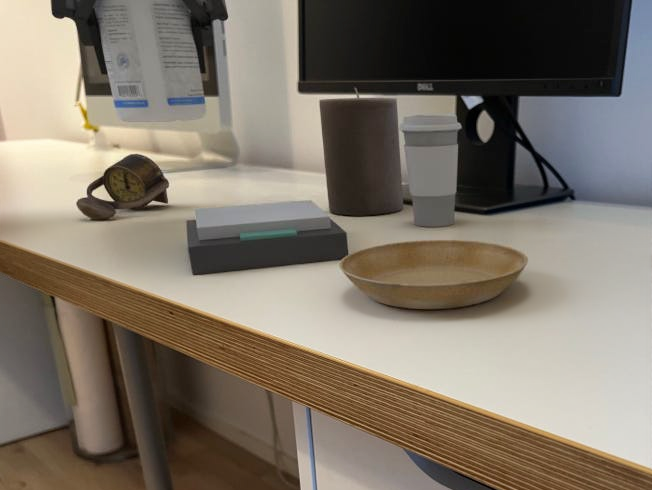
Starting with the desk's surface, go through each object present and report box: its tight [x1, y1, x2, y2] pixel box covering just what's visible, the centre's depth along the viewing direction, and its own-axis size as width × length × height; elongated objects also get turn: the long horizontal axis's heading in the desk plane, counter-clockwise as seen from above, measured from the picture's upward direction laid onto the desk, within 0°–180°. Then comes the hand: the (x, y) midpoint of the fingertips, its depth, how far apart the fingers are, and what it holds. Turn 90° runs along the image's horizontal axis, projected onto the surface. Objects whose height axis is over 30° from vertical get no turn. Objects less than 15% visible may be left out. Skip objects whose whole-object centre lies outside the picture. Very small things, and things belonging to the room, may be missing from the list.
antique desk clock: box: [75, 153, 170, 220], centre depth 92 cm, size 7×13×10 cm
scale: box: [185, 199, 350, 276], centre depth 69 cm, size 14×14×4 cm
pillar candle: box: [318, 87, 404, 217], centre depth 89 cm, size 10×10×15 cm
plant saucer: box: [338, 239, 529, 310], centre depth 55 cm, size 15×15×3 cm
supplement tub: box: [94, 0, 207, 123], centre depth 77 cm, size 10×10×15 cm
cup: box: [398, 113, 463, 228], centre depth 80 cm, size 7×7×12 cm
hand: (153, 65), depth 80 cm, fingers closed on supplement tub, 10 cm apart
